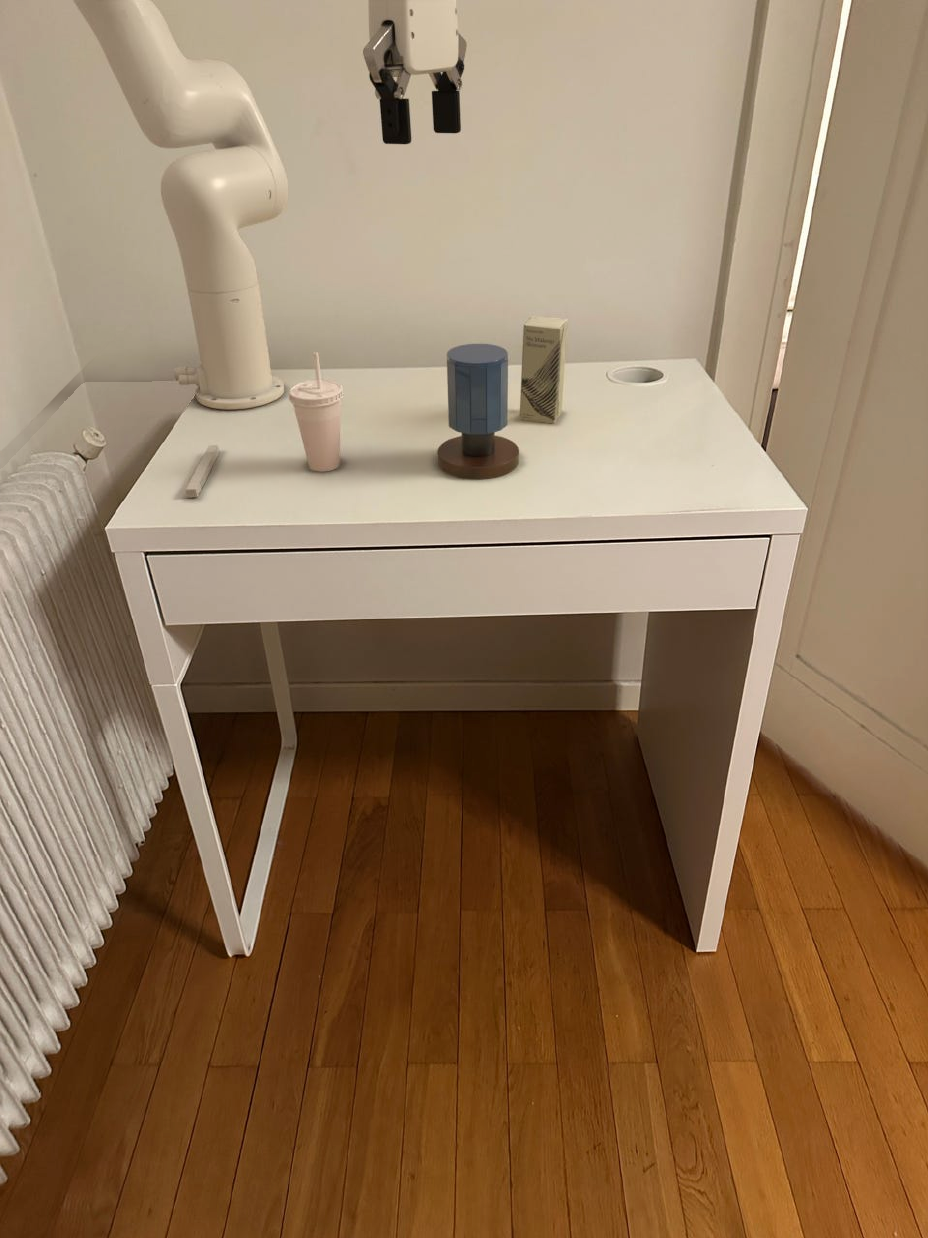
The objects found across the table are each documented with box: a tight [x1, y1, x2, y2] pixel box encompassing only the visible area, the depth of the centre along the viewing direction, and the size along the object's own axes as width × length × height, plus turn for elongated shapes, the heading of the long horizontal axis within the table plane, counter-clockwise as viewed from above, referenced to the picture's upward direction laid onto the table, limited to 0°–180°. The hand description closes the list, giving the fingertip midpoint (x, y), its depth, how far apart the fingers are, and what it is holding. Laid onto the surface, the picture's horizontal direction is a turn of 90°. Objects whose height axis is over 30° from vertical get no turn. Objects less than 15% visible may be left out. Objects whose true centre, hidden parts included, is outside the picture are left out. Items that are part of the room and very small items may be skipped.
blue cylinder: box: [446, 343, 509, 435], centre depth 106 cm, size 7×7×8 cm
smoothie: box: [288, 351, 345, 473], centre depth 107 cm, size 6×6×14 cm
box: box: [519, 315, 569, 424], centre depth 119 cm, size 5×4×13 cm
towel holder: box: [437, 432, 520, 480], centre depth 107 cm, size 10×10×13 cm
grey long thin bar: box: [185, 444, 220, 498], centre depth 109 cm, size 12×1×1 cm, turn 1°
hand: (423, 137), depth 95 cm, fingers open, 9 cm apart
